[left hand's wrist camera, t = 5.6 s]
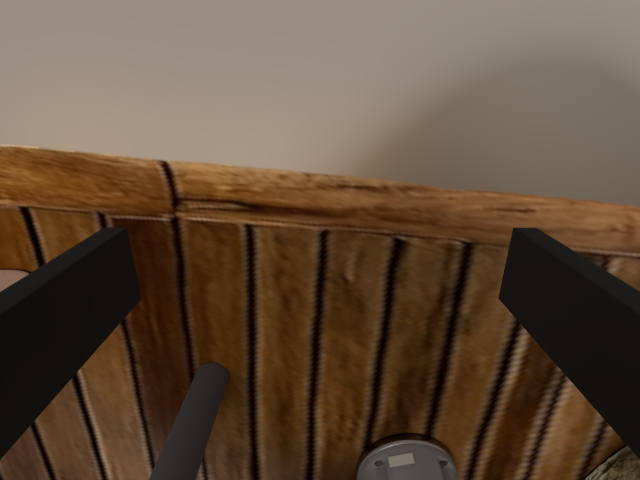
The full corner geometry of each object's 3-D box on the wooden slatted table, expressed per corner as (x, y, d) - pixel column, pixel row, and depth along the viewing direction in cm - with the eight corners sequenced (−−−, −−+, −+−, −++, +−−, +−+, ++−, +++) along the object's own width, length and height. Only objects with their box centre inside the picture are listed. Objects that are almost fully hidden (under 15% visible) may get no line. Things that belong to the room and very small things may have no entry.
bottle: (190, 375, 50) (121, 527, 32) (209, 357, 49) (147, 503, 31) (216, 392, 51) (162, 547, 34) (234, 374, 50) (188, 525, 32)
